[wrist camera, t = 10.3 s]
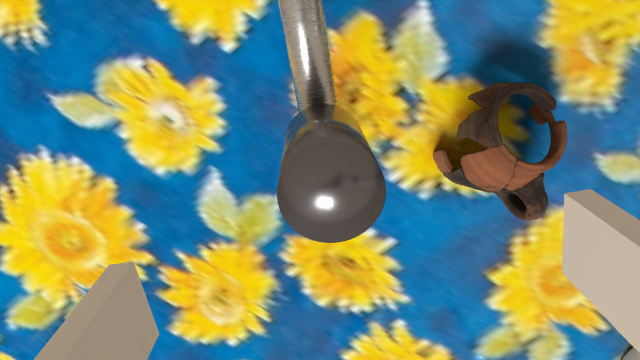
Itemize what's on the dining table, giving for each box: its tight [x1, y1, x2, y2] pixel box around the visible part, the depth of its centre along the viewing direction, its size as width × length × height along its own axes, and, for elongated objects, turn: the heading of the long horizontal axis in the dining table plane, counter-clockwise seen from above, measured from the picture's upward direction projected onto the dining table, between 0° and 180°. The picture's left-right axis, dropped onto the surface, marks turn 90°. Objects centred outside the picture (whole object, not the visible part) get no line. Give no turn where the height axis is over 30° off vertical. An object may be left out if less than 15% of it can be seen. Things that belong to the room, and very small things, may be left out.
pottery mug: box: [433, 82, 567, 220], centre depth 38 cm, size 12×10×8 cm
